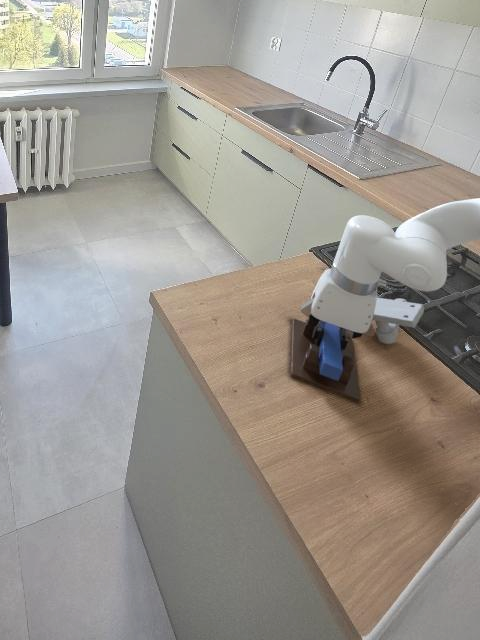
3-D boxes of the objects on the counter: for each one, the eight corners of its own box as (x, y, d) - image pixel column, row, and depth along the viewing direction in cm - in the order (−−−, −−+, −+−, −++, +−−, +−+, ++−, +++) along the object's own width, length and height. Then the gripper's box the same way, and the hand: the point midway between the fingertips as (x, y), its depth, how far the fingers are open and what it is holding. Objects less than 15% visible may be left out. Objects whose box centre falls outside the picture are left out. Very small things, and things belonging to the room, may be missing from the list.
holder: (350, 341, 92) (359, 320, 89) (358, 402, 80) (368, 379, 77) (292, 321, 97) (299, 300, 94) (290, 376, 84) (298, 353, 81)
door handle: (324, 335, 100) (424, 358, 84) (314, 303, 100) (412, 321, 84) (353, 299, 111) (447, 313, 94) (344, 270, 110) (437, 280, 94)
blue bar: (333, 319, 93) (337, 308, 91) (338, 381, 79) (343, 369, 78) (317, 314, 94) (321, 303, 92) (319, 374, 80) (324, 362, 79)
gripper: (399, 278, 79) (369, 346, 87) (305, 251, 85) (285, 316, 93) (408, 306, 73) (375, 376, 80) (305, 275, 79) (283, 343, 86)
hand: (327, 344), depth 86 cm, fingers closed on blue bar, 3 cm apart
